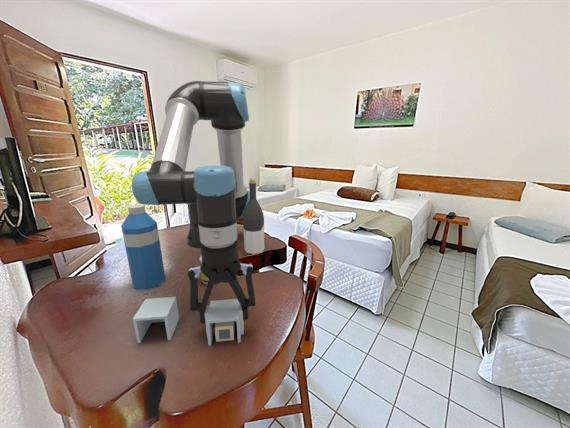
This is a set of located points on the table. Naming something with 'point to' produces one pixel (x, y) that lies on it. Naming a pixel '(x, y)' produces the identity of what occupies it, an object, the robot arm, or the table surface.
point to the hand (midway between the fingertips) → (225, 331)
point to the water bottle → (143, 248)
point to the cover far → (223, 316)
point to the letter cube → (225, 331)
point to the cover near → (156, 316)
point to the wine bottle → (253, 223)
